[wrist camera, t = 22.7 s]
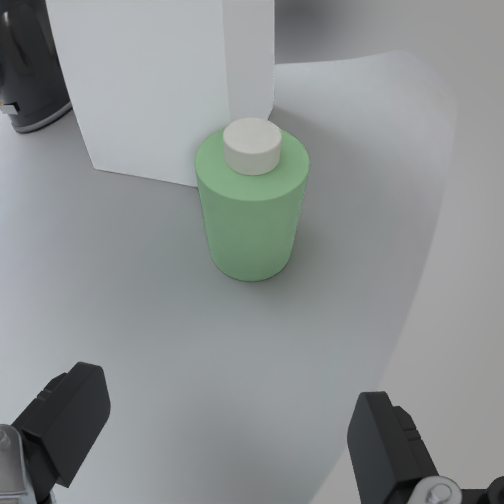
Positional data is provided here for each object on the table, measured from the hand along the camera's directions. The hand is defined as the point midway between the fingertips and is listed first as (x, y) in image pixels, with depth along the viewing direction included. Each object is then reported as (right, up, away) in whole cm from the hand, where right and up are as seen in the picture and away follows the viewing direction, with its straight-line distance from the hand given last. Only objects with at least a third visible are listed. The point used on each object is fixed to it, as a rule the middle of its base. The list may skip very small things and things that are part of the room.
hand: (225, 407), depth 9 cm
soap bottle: (+1, +5, +11) cm, 12 cm away
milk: (-4, +15, +17) cm, 23 cm away
